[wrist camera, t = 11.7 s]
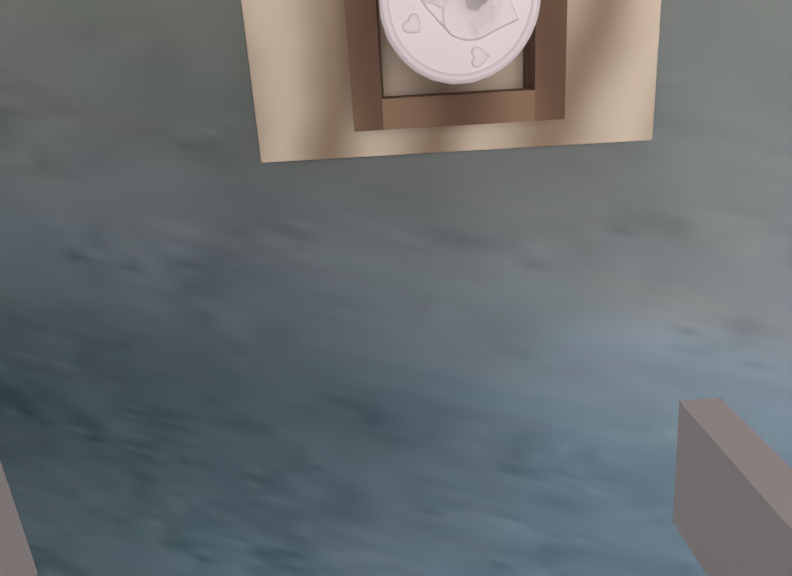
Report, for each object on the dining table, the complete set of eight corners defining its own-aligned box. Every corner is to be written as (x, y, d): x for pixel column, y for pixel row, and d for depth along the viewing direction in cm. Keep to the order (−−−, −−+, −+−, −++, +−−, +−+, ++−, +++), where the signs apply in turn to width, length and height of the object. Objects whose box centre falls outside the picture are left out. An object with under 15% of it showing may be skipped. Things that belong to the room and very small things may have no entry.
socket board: (265, 160, 38) (247, 171, 34) (231, -114, 33) (206, -141, 29) (645, 138, 37) (677, 146, 33) (663, -145, 33) (702, -178, 28)
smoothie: (480, 98, 36) (525, 112, 22) (369, 59, 35) (347, 50, 22) (524, -24, 34) (602, -88, 20) (407, -68, 33) (409, -162, 20)
